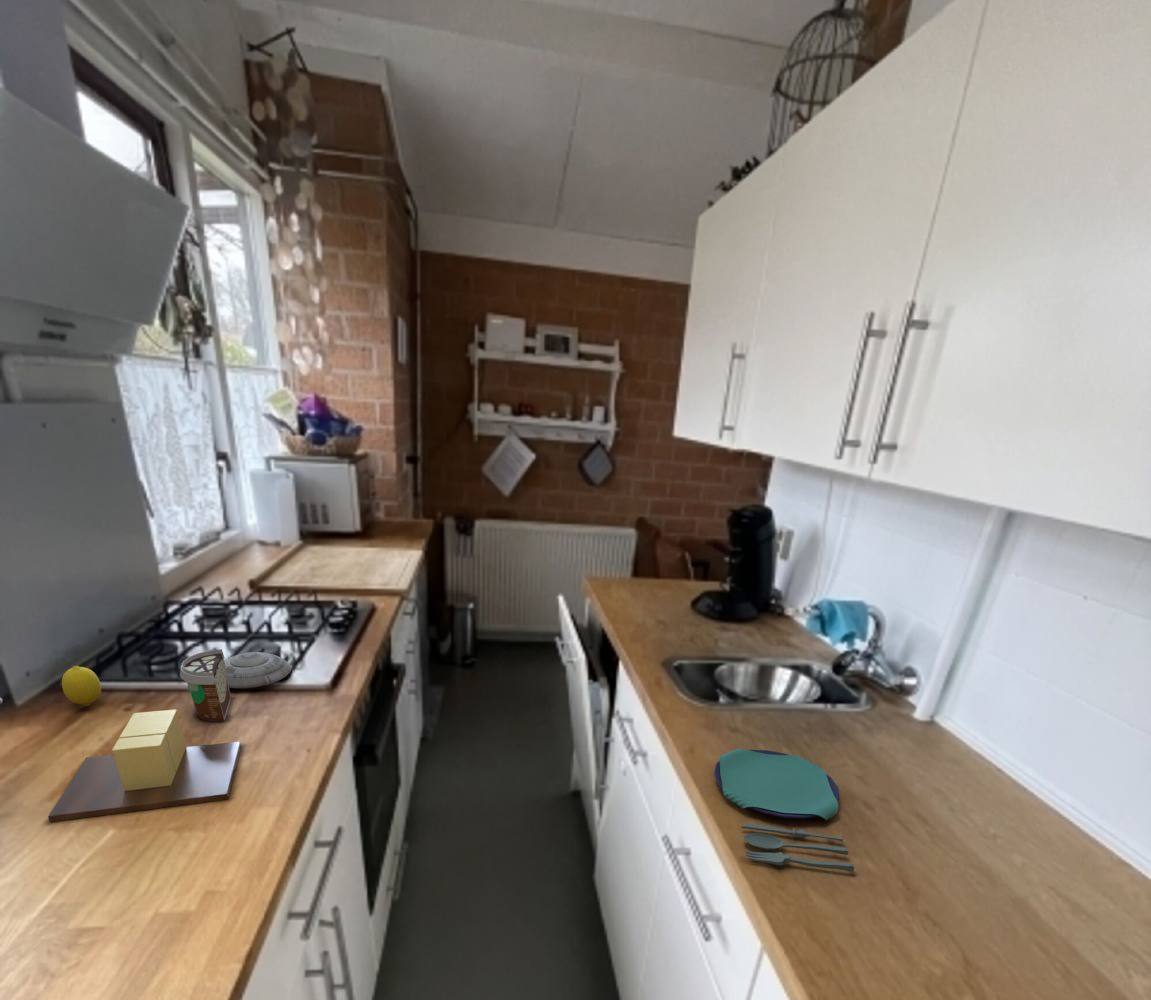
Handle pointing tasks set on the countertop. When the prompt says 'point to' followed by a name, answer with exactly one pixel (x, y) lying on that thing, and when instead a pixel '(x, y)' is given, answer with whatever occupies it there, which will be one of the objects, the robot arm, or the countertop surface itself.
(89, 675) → the lemon
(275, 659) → the flying saucer
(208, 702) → the food container
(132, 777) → the butter slice
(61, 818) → the butter board
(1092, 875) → the countertop surface
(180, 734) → the butter block
